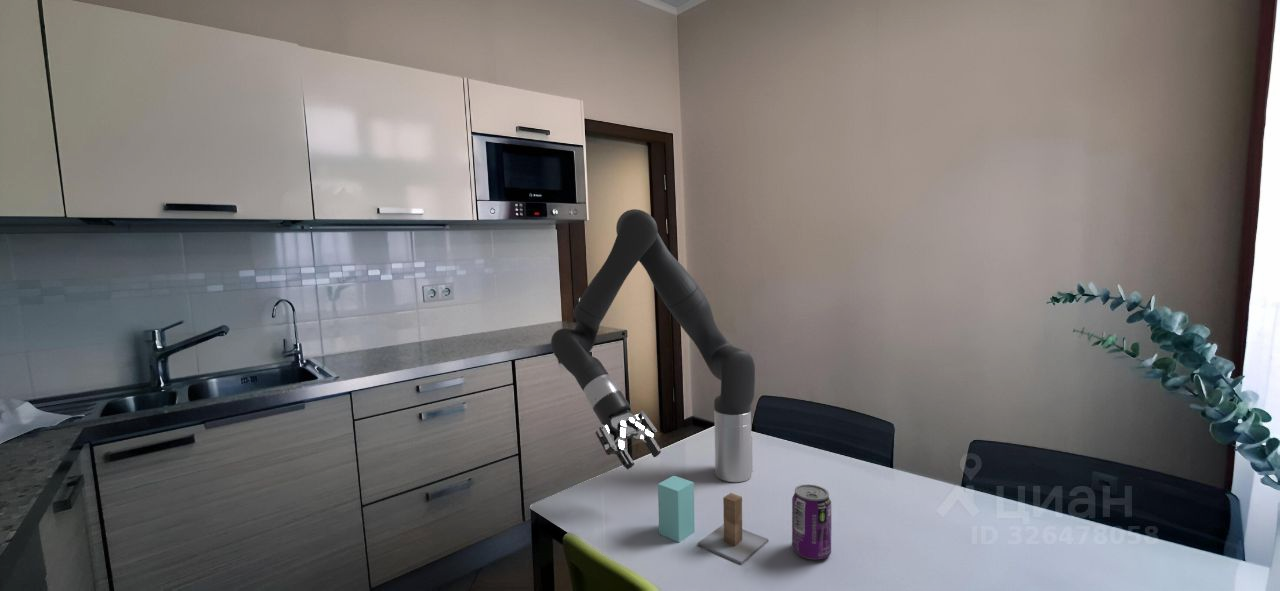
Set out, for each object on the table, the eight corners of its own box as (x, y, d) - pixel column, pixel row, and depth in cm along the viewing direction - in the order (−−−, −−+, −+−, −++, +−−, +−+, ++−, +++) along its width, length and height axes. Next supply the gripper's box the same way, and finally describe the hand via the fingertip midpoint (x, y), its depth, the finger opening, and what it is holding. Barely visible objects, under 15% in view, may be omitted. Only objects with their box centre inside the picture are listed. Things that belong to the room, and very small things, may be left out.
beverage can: (834, 564, 96) (834, 501, 95) (793, 561, 97) (793, 498, 96) (828, 543, 103) (828, 484, 102) (790, 540, 104) (790, 482, 103)
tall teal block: (674, 523, 112) (673, 475, 111) (694, 531, 108) (693, 482, 107) (659, 533, 108) (657, 483, 107) (679, 542, 105) (678, 491, 104)
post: (725, 524, 111) (725, 481, 110) (768, 541, 104) (768, 495, 103) (697, 545, 103) (696, 498, 103) (741, 564, 97) (741, 515, 96)
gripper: (590, 396, 112) (630, 462, 105) (635, 383, 123) (675, 442, 116) (575, 416, 116) (613, 480, 110) (620, 401, 127) (657, 459, 120)
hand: (644, 460), depth 113 cm, fingers open, 8 cm apart
